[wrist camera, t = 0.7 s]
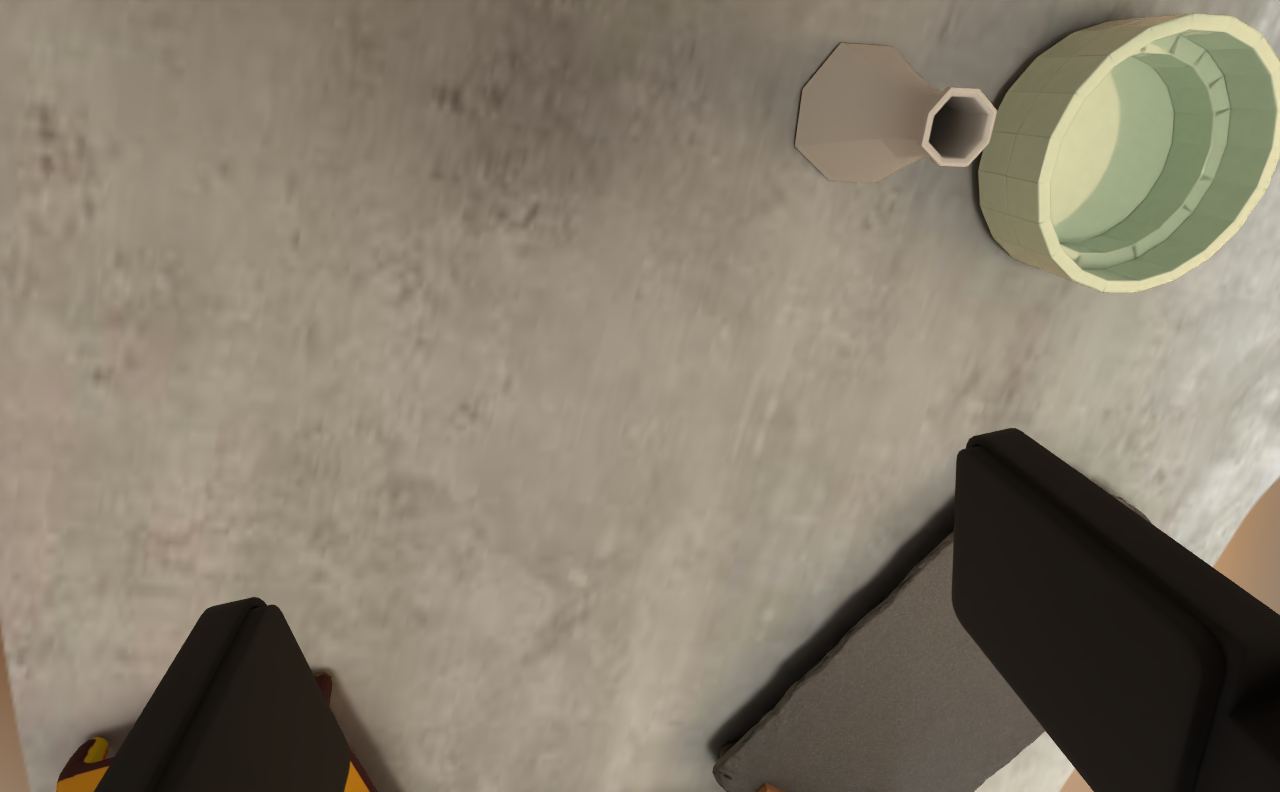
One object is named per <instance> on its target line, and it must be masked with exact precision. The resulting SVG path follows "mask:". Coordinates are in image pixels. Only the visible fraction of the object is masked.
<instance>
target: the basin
mask: <svg viewBox="0 0 1280 792" xmlns="http://www.w3.org/2000/svg"><path fill="white" fill-rule="evenodd" d="M1279 158H1280V60H1279V58H1278V57H1277V55H1276V54H1275V52H1274V51H1273V49H1272V47H1271V46H1270V44H1269V43H1268V41H1267V40H1266V38H1265V36H1264V35H1263V34H1262V33H1260V32H1259V31H1257V30H1255V29H1254V28H1252V27H1250V26H1249V25H1247V24H1245V23H1243V22H1242V21H1240V20H1238V19H1237V18H1235V17H1233V16H1228V15H1213V14H1199V13H1190V14H1179V15H1168V16H1157V17H1146V18H1135V19H1125V20H1114V21H1108V22H1105V23H1102V24H1098V25H1095V26H1092V27H1089V28H1086V29H1082V30H1079V31H1076V32H1074V33H1072V34H1070V35H1069V36H1067V37H1066V38H1064V39H1063V40H1061V41H1060V42H1058V43H1057V44H1055V45H1054V46H1052V47H1051V48H1050V49H1048V50H1047V51H1045V52H1044V53H1042V54H1041V55H1039V56H1038V57H1037V58H1036V59H1035V60H1034V61H1033V62H1032V63H1031V64H1030V66H1029V67H1028V68H1027V69H1026V70H1025V71H1024V73H1023V74H1022V75H1021V76H1020V77H1019V78H1018V79H1017V81H1016V82H1015V83H1014V84H1013V85H1012V86H1011V87H1010V89H1009V90H1008V91H1007V93H1006V95H1005V97H1004V99H1003V101H1002V103H1001V105H1000V106H999V108H998V110H997V113H996V118H995V122H994V126H993V130H992V134H991V138H990V142H989V144H988V145H987V146H986V147H985V148H984V149H983V152H982V156H981V160H980V165H979V170H978V177H979V196H980V206H981V210H982V212H983V215H984V217H985V219H986V222H987V224H988V227H989V229H990V232H991V234H992V236H993V238H994V239H995V240H996V241H997V242H998V243H999V244H1000V245H1001V246H1002V247H1003V248H1004V249H1005V250H1006V251H1007V252H1008V253H1009V254H1010V255H1011V256H1012V257H1013V258H1015V259H1016V260H1019V261H1021V262H1024V263H1026V264H1029V265H1031V266H1034V267H1036V268H1039V269H1041V270H1044V271H1047V272H1049V273H1052V274H1054V275H1057V276H1060V277H1062V278H1065V279H1068V280H1070V281H1073V282H1076V283H1078V284H1081V285H1084V286H1086V287H1089V288H1091V289H1094V290H1097V291H1099V292H1103V293H1136V292H1140V291H1143V290H1146V289H1149V288H1152V287H1155V286H1159V285H1162V284H1165V283H1168V282H1171V281H1173V280H1176V279H1177V278H1179V277H1181V276H1182V275H1184V274H1185V273H1187V272H1189V271H1190V270H1192V269H1193V268H1195V267H1197V266H1198V265H1200V264H1201V263H1203V262H1205V261H1206V260H1208V258H1210V257H1211V256H1212V255H1213V254H1215V253H1216V252H1217V251H1218V250H1219V249H1220V248H1221V247H1222V246H1223V245H1224V244H1225V243H1226V242H1227V241H1228V240H1229V239H1230V238H1231V237H1232V236H1233V235H1234V234H1235V233H1236V232H1237V231H1238V230H1239V229H1240V228H1241V227H1242V225H1243V224H1244V222H1245V221H1246V219H1247V218H1248V216H1249V215H1250V213H1251V212H1252V210H1253V209H1254V207H1255V206H1256V204H1257V203H1258V201H1259V200H1260V199H1261V197H1262V196H1263V194H1264V193H1265V191H1266V189H1267V188H1268V185H1269V183H1270V180H1271V178H1272V175H1273V173H1274V170H1275V168H1276V165H1277V163H1278V160H1279Z"/></svg>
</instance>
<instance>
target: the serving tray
mask: <svg viewBox="0 0 1280 792" xmlns="http://www.w3.org/2000/svg"><path fill="white" fill-rule="evenodd" d="M1112 496H1113V495H1112ZM1113 497H1114V498H1116V499H1117V500H1119V501H1120V502H1121V503H1123V504H1124V505H1126V506H1127V507H1128V508H1130V509H1131V510H1133V511H1134V512H1136V513H1137V514H1138V515H1140V516H1141V517H1143V518H1144V519H1145V520H1147V521H1148V522H1150V521H1149V520H1148V518H1147V517H1146V516H1145V515H1144V514H1143V513H1142V512H1140V511H1139V510H1138V509H1136V508H1135V507H1133V506H1131V505H1130V504H1128V503H1127V502H1126V501H1125V500H1123V499H1122V498H1119V497H1116V496H1113ZM1150 523H1151V522H1150ZM1151 524H1152V523H1151ZM1152 525H1153V524H1152ZM953 543H954V530H953V531H952V532H951V533H950V534H949V535H948V536H947V537H946V538H945V539H944V540H943V541H942V542H941V543H940V544H939V545H938V546H937V547H936V548H935V549H933V550H932V551H931V552H930V553H929V554H928V555H927V556H926V557H925V558H923V559H922V560H921V561H920V562H918V563H917V564H916V565H915V566H914V567H913V568H912V569H911V571H910V572H909V573H908V574H907V575H906V577H905V578H904V579H903V580H902V581H901V583H900V584H899V585H898V586H897V587H896V588H895V589H894V590H893V591H892V592H891V594H890V595H889V596H888V597H887V598H886V599H885V600H884V601H883V602H881V603H880V604H879V605H877V606H876V607H875V608H874V609H873V610H871V611H870V612H869V613H867V614H866V615H865V616H864V617H862V618H861V619H860V620H859V621H858V623H857V624H856V625H855V626H854V627H852V628H851V629H849V630H848V631H847V632H846V634H845V635H844V636H843V637H842V639H841V640H840V641H839V642H838V643H837V644H836V646H835V647H834V648H832V649H831V650H830V651H829V652H828V653H827V654H826V655H825V656H824V657H823V659H822V660H821V661H820V662H819V663H818V664H817V665H815V666H814V667H813V668H812V669H810V670H809V671H808V672H806V673H805V674H804V676H803V677H802V678H801V679H799V680H797V681H796V682H794V683H793V684H792V685H791V686H790V687H789V689H788V690H787V691H786V692H785V694H784V696H783V697H782V699H781V700H780V701H779V702H778V703H777V704H776V706H775V708H774V709H773V710H771V711H769V712H768V713H766V714H765V715H764V716H763V717H762V718H761V720H760V721H759V723H757V724H756V725H755V726H753V727H752V728H751V729H750V730H749V731H748V732H747V733H746V734H745V735H744V736H743V737H742V738H741V739H740V740H739V741H738V742H737V743H736V742H735V741H728V742H726V743H724V744H723V746H722V750H721V752H720V759H719V761H718V762H717V763H716V764H715V766H714V767H713V774H714V776H715V779H716V781H717V782H718V783H719V784H720V786H722V787H723V789H724V790H726V791H727V792H974V791H975V790H976V789H977V788H978V787H980V786H981V785H982V784H983V783H984V781H985V780H986V779H987V778H989V777H991V776H992V775H993V774H995V773H996V772H997V771H998V770H999V769H1001V768H1002V767H1004V766H1005V765H1006V764H1008V763H1009V762H1010V761H1011V760H1012V759H1013V758H1015V757H1016V756H1017V755H1018V754H1019V753H1020V752H1021V751H1022V750H1023V749H1025V748H1026V747H1027V746H1028V745H1030V744H1031V743H1032V742H1034V741H1035V740H1036V739H1037V738H1038V737H1039V736H1040V735H1041V734H1042V733H1043V732H1045V730H1044V728H1043V727H1042V726H1041V725H1040V723H1039V722H1038V721H1037V719H1036V718H1035V717H1034V716H1033V714H1032V713H1031V712H1030V711H1029V709H1028V708H1027V707H1026V706H1025V704H1024V703H1023V702H1022V701H1021V699H1020V698H1019V697H1018V696H1017V694H1016V693H1015V692H1014V691H1013V689H1012V688H1011V687H1010V686H1009V684H1008V683H1007V682H1006V680H1005V679H1004V678H1003V677H1002V675H1001V674H1000V673H999V672H998V670H997V669H996V668H995V667H994V665H993V664H992V663H991V662H990V660H989V659H988V658H987V657H986V655H985V654H984V653H983V652H982V650H981V649H980V648H979V647H978V645H977V644H976V643H975V641H974V640H973V639H972V638H971V636H970V635H969V634H968V633H967V631H966V630H965V629H964V628H963V626H962V625H961V623H960V622H959V620H958V618H957V616H956V614H955V611H954V609H953V605H952V570H953Z"/></svg>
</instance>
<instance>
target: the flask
mask: <svg viewBox="0 0 1280 792" xmlns="http://www.w3.org/2000/svg"><path fill="white" fill-rule="evenodd" d="M996 113H997V110H996V109H995V107H994V106H993V105H992V104H991V102H990V101H989V100H988V99H987V98H986V96H985V95H984V94H983V93H982V92H981V90H980V89H971V88H955V87H947V88H945V89H944V91H943V92H942V91H940V90H937V89H935V88H933V87H931V86H930V85H929V84H928V83H927V82H926V81H925V80H924V79H923V78H922V77H921V76H920V75H919V74H918V73H916V72H915V71H914V70H913V69H912V67H911V66H910V65H909V64H908V63H907V62H906V61H905V59H904V58H903V57H902V56H901V55H900V54H899V53H898V51H896V50H895V49H894V48H893V47H892V46H878V45H865V44H851V43H840V45H839V46H838V47H837V48H836V49H835V51H834V52H833V53H832V54H831V55H830V57H829V58H828V59H827V60H826V61H825V63H824V64H823V65H822V66H821V68H820V69H819V70H818V71H817V72H816V74H815V75H814V76H813V77H812V78H811V80H810V81H809V82H808V83H807V84H806V86H805V87H804V88H803V90H802V98H801V105H800V112H799V119H798V126H797V134H796V141H795V147H796V148H797V149H798V150H799V151H800V152H801V153H802V154H803V155H804V156H805V157H806V158H807V159H808V160H809V161H810V162H811V163H812V164H813V165H814V166H815V167H816V168H817V169H818V170H819V171H820V172H821V173H822V174H823V175H824V176H825V177H826V178H827V179H828V180H829V181H846V182H870V183H878V182H880V181H882V180H883V179H885V178H887V177H888V176H890V175H892V174H893V173H895V172H896V171H898V170H900V169H901V168H903V167H905V166H907V165H909V164H911V163H913V162H915V161H917V160H919V159H921V158H926V157H929V158H930V159H931V160H932V161H933V162H934V163H935V164H936V165H938V166H958V167H967V166H968V165H969V164H970V163H971V162H972V161H973V160H974V159H975V158H976V157H977V156H978V154H979V153H980V152H981V151H982V150H983V149H984V148H985V147H986V146H987V145H988V144H989V142H990V138H991V134H992V130H993V126H994V122H995V118H996Z"/></svg>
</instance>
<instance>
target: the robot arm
mask: <svg viewBox="0 0 1280 792" xmlns="http://www.w3.org/2000/svg"><path fill="white" fill-rule="evenodd" d="M952 605H953V609H954V611H955V614H956V616H957V618H958V620H959V622H960V623H961V625H962V626H963V628H964V629H965V630H966V631H967V633H968V634H969V635H970V636H971V638H972V639H973V640H974V641H975V643H976V644H977V645H978V647H979V648H980V649H981V650H982V652H983V653H984V654H985V655H986V657H987V658H988V659H989V660H990V662H991V663H992V664H993V665H994V667H995V668H996V669H997V670H998V672H999V673H1000V674H1001V675H1002V677H1003V678H1004V679H1005V680H1006V682H1007V683H1008V684H1009V686H1010V687H1011V688H1012V689H1013V691H1014V692H1015V693H1016V694H1017V696H1018V697H1019V698H1020V699H1021V701H1022V702H1023V703H1024V704H1025V706H1026V707H1027V708H1028V709H1029V711H1030V712H1031V713H1032V714H1033V716H1034V717H1035V718H1036V719H1037V721H1038V722H1039V723H1040V725H1041V726H1042V727H1043V728H1044V730H1045V731H1046V732H1047V733H1048V735H1049V736H1050V737H1051V738H1052V740H1053V741H1054V742H1055V743H1056V745H1057V746H1058V747H1059V748H1060V750H1061V751H1062V752H1063V753H1064V755H1065V756H1066V757H1067V758H1068V760H1069V761H1070V762H1071V763H1072V765H1073V766H1074V767H1075V769H1076V770H1077V771H1078V772H1079V774H1080V775H1081V776H1082V777H1083V779H1084V780H1085V781H1086V782H1087V784H1088V785H1089V786H1090V787H1091V789H1092V790H1093V791H1094V792H1280V615H1279V614H1277V613H1276V612H1275V611H1273V610H1272V609H1270V608H1269V607H1268V606H1266V605H1265V604H1263V603H1262V602H1260V601H1259V600H1258V599H1256V598H1255V597H1253V596H1252V595H1251V594H1249V593H1248V592H1246V591H1245V590H1244V589H1242V588H1241V587H1239V586H1238V585H1237V584H1235V583H1234V582H1232V581H1231V580H1230V579H1228V578H1227V577H1225V576H1224V575H1223V574H1221V573H1220V572H1218V571H1217V570H1216V569H1214V568H1213V567H1211V566H1210V565H1209V564H1207V563H1206V562H1204V561H1203V560H1202V559H1200V558H1199V557H1197V556H1196V555H1194V554H1193V553H1192V552H1190V551H1189V550H1187V549H1186V548H1185V547H1183V546H1182V545H1180V544H1179V543H1178V542H1176V541H1175V540H1173V539H1172V538H1171V537H1169V536H1168V535H1166V534H1165V533H1164V532H1162V531H1161V530H1159V529H1158V528H1157V527H1155V526H1154V525H1152V524H1151V523H1150V522H1148V521H1147V520H1145V519H1144V518H1143V517H1141V516H1140V515H1138V514H1137V513H1136V512H1134V511H1133V510H1131V509H1130V508H1128V507H1127V506H1126V505H1124V504H1123V503H1121V502H1120V501H1119V500H1117V499H1116V498H1114V497H1113V496H1112V495H1110V494H1109V493H1107V492H1106V491H1105V490H1103V489H1102V488H1100V487H1099V486H1098V485H1096V484H1095V483H1093V482H1092V481H1091V480H1089V479H1088V478H1086V477H1085V476H1084V475H1082V474H1081V473H1079V472H1078V471H1077V470H1075V469H1074V468H1072V467H1071V466H1070V465H1068V464H1067V463H1065V462H1064V461H1062V460H1061V459H1060V458H1058V457H1057V456H1055V455H1054V454H1053V453H1051V452H1050V451H1048V450H1047V449H1046V448H1044V447H1043V446H1041V445H1040V444H1039V443H1037V442H1036V441H1034V440H1033V439H1032V438H1030V437H1029V436H1027V435H1026V434H1025V433H1023V432H1022V431H1020V430H1018V429H1016V428H1009V429H1004V430H1000V431H995V432H991V433H986V434H982V435H977V436H973V437H972V438H970V439H969V441H968V443H967V446H966V449H963V450H961V451H959V453H958V455H957V461H956V489H955V516H954V543H953V570H952ZM349 769H350V751H349V746H348V743H347V741H346V739H345V737H344V735H343V733H342V731H341V729H340V727H339V725H338V723H337V721H336V719H335V717H334V715H333V713H332V711H331V709H330V707H329V705H328V703H327V701H326V699H325V697H324V695H323V693H322V691H321V689H320V687H319V685H318V683H317V681H316V679H315V677H314V675H313V673H312V671H311V669H310V667H309V665H308V663H307V661H306V659H305V657H304V655H303V653H302V651H301V649H300V647H299V645H298V643H297V641H296V639H295V637H294V635H293V633H292V631H291V629H290V627H289V625H288V623H287V621H286V619H285V617H284V615H283V613H282V612H281V610H280V609H279V608H278V607H277V606H276V605H268V606H267V605H266V604H265V602H264V601H263V600H261V599H260V598H256V597H252V598H248V599H243V600H239V601H234V602H230V603H225V604H221V605H216V606H212V607H210V608H208V609H206V610H205V611H204V613H203V614H202V615H201V617H200V618H199V620H198V621H197V623H196V625H195V626H194V628H193V630H192V631H191V633H190V635H189V636H188V638H187V639H186V641H185V643H184V644H183V646H182V648H181V649H180V651H179V653H178V654H177V656H176V657H175V659H174V661H173V662H172V664H171V666H170V667H169V669H168V671H167V672H166V674H165V675H164V677H163V679H162V680H161V682H160V684H159V685H158V687H157V689H156V690H155V692H154V693H153V695H152V697H151V698H150V700H149V702H148V703H147V705H146V707H145V708H144V710H143V712H142V713H141V715H140V716H139V718H138V720H137V721H136V723H135V725H134V726H133V728H132V730H131V731H130V733H129V734H128V736H127V738H126V739H125V741H124V743H123V744H122V746H121V748H120V749H119V751H118V752H117V754H116V756H115V757H114V759H113V761H112V762H111V764H110V766H109V767H108V769H107V770H106V772H105V774H104V775H103V777H102V779H101V780H100V782H99V784H98V785H97V787H96V788H95V790H94V792H344V790H345V786H346V782H347V778H348V775H349Z"/></svg>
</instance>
